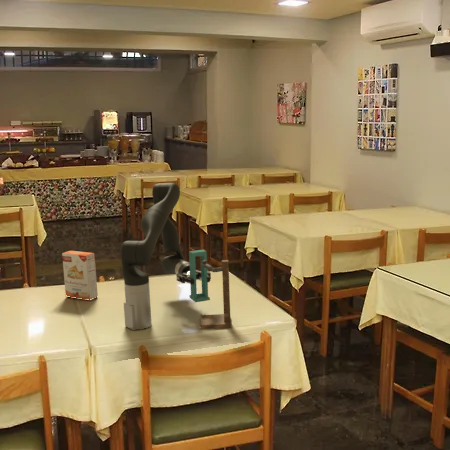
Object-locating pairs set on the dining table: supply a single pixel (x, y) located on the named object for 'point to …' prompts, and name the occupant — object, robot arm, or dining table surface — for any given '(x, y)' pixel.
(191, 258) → the teal loop
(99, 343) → the dining table surface
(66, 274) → the cracker box
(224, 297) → the hook stand
